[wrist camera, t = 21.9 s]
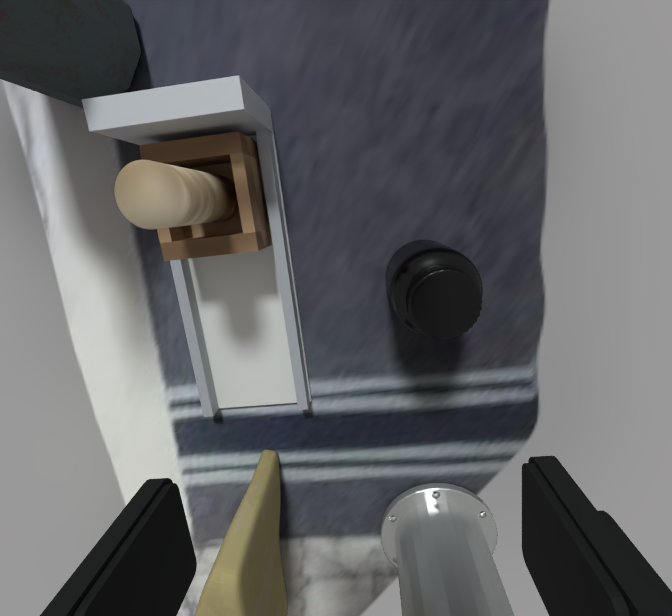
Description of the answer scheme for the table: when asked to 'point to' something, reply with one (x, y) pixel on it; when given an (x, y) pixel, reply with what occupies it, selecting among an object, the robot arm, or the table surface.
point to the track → (231, 269)
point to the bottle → (68, 47)
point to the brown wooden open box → (244, 171)
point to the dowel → (173, 195)
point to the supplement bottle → (434, 289)
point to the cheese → (250, 553)
